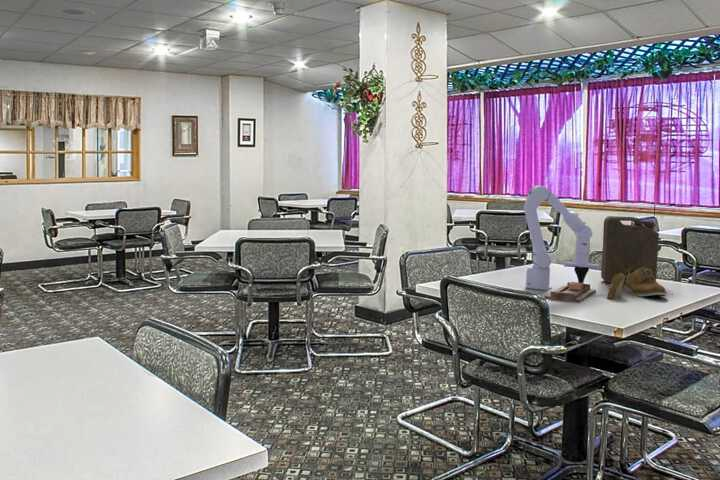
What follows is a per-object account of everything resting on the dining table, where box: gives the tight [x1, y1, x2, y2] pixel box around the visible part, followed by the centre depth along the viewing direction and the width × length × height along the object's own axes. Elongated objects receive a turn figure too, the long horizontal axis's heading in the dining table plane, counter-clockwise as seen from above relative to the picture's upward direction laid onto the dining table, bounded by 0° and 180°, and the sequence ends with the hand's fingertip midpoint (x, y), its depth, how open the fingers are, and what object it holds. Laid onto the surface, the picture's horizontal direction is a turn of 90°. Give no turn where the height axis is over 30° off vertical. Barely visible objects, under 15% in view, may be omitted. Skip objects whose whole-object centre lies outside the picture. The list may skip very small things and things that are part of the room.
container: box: [600, 215, 660, 285], centre depth 300 cm, size 22×10×30 cm, turn 81°
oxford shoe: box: [624, 267, 668, 298], centre depth 276 cm, size 28×10×11 cm, turn 2°
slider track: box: [544, 281, 597, 303], centre depth 272 cm, size 14×26×3 cm, turn 148°
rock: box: [606, 273, 625, 300], centre depth 269 cm, size 11×9×10 cm
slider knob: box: [569, 281, 585, 290], centre depth 278 cm, size 5×4×2 cm
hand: (580, 284), depth 285 cm, fingers closed
